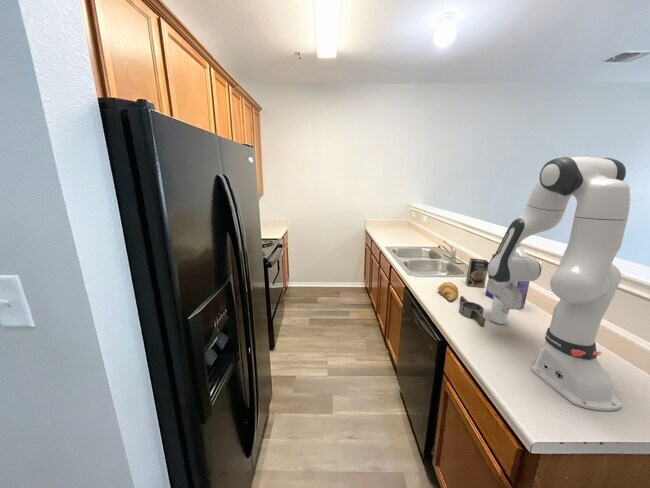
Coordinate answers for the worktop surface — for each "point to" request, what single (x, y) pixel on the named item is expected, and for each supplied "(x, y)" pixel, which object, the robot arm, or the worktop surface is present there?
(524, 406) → the worktop surface
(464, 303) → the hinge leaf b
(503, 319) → the can
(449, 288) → the croissant
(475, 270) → the coffee box
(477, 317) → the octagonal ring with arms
